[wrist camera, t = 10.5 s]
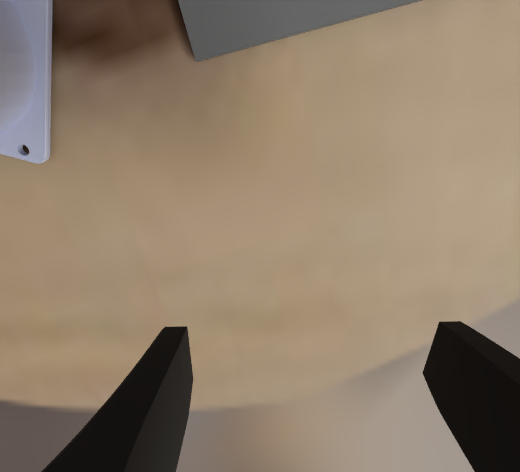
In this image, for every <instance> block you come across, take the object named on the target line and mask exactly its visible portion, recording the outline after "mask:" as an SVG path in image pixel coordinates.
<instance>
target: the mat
mask: <svg viewBox="0 0 520 472" xmlns="http://www.w3.org/2000/svg"><path fill="white" fill-rule="evenodd" d="M418 1H421V0H178V2H179V5H180V9H181V12H182V16H183V19H184V23H185V26H186V30H187V33H188V37H189V40H190V44H191V47H192V50H193V54H194V57H195V61H197V62H198V61H202V60H206V59H209V58H213V57H217V56H220V55H224V54H228V53H231V52H235V51H239V50H242V49H246V48H249V47H253V46H257V45H260V44H264V43H268V42H271V41H275V40H279V39H282V38H286V37H290V36H293V35H297V34H301V33H304V32H308V31H312V30H315V29H319V28H323V27H326V26H330V25H334V24H337V23H341V22H344V21H348V20H352V19H355V18H359V17H363V16H366V15H370V14H374V13H377V12H381V11H385V10H388V9H392V8H396V7H399V6H403V5H407V4H410V3H414V2H418Z"/></svg>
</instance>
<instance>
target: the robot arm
mask: <svg viewBox="0 0 520 472" xmlns="http://www.w3.org/2000/svg"><path fill="white" fill-rule="evenodd" d="M52 2H53V0H0V154H2V155H6V156H10V157H14V158H17V159H21V160H25V161H29V162H33V163H42V162H45V161H47V160H48V159H49V157H50V125H51V64H52ZM23 145H25V146H27V148H28V149H29V154H27V153H26V152H25V151H24V150H23ZM423 375H424V377H425V380H426V382H427V384H428V387H429V389H430V391H431V394H432V396H433V398H434V400H435V403H436V405H437V407H438V409H439V411H440V413H441V415H442V416H443V418H444V420H445V422H446V423H447V425H448V427H449V429H450V430H451V432H452V434H453V435H454V437H455V439H456V440H457V442H458V444H459V446H460V447H461V449H462V451H463V453H464V454H465V456H466V457H467V459H468V461H469V463H470V464H471V466H472V468H473V469H474V471H475V472H520V359H519V358H518V357H516V356H515V355H513V354H512V353H510V352H509V351H507V350H505V349H504V348H502V347H501V346H499V345H498V344H496V343H495V342H493V341H491V340H490V339H488V338H487V337H485V336H484V335H482V334H480V333H479V332H477V331H475V330H474V329H472V328H471V327H469V326H467V325H465V324H464V323H462V322H460V321H457V322H439V324H438V328H437V331H436V334H435V337H434V340H433V343H432V346H431V349H430V352H429V355H428V358H427V361H426V364H425V367H424V370H423ZM192 384H193V373H192V364H191V356H190V347H189V338H188V329H187V327H165V328H164V329H162V330H161V332H160V333H159V335H158V336H157V337H156V339H155V340H154V342H153V343H152V344H151V346H150V347H149V348H148V350H147V351H146V352H145V354H144V355H143V356H142V358H141V359H140V360H139V362H138V363H137V364H136V366H135V367H134V368H133V369H132V371H131V372H130V373H129V374H128V376H127V377H126V378H125V379H124V381H123V382H122V383H121V384H120V386H119V387H118V388H117V389H116V391H115V392H114V393H113V394H112V395H111V397H110V398H109V399H108V400H107V401H106V402H105V404H104V405H103V406H102V407H101V408H100V409H99V410H98V412H97V413H96V414H95V415H94V416H93V417H92V418H91V420H90V421H89V422H88V423H87V424H86V425H85V426H84V428H83V429H82V430H81V431H80V432H79V433H78V434H77V435H76V436H75V437H74V438H73V440H72V441H71V442H70V443H69V444H68V445H67V446H66V447H65V448H64V449H63V450H62V451H61V452H60V453H59V454H58V455H57V456H56V457H55V459H54V460H52V461H51V462H50V464H48V465H47V467H46V468H45V469H44V470H43V471H42V472H176V468H177V464H178V460H179V455H180V450H181V446H182V442H183V437H184V434H185V429H186V425H187V420H188V415H189V408H190V400H191V392H192Z"/></svg>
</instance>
